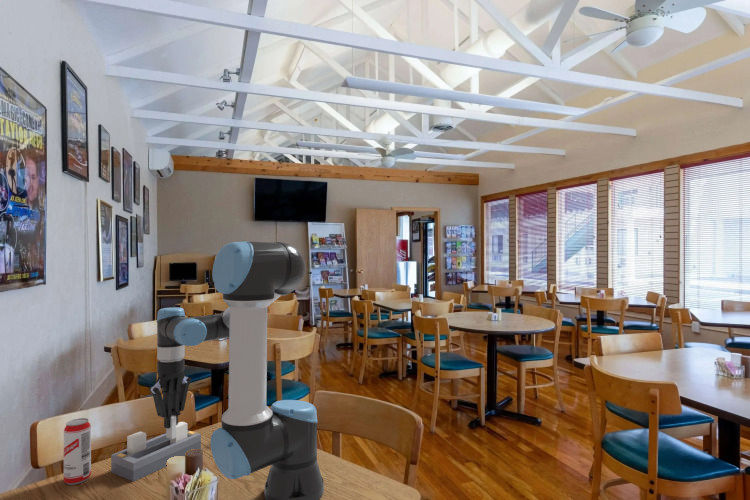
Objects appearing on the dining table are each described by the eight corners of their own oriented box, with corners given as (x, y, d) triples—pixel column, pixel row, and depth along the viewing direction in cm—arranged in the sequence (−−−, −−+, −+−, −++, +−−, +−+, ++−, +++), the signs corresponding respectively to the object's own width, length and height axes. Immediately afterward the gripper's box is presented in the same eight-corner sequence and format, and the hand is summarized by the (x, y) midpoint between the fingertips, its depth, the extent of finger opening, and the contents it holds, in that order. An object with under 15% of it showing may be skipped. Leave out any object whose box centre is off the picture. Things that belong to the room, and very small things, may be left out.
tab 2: (187, 442, 138) (187, 423, 138) (176, 447, 134) (176, 427, 134) (181, 440, 139) (181, 421, 139) (170, 445, 135) (170, 425, 135)
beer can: (77, 487, 118) (77, 427, 118) (57, 484, 119) (57, 425, 119) (96, 475, 124) (96, 418, 124) (77, 473, 125) (77, 416, 125)
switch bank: (200, 450, 140) (200, 433, 140) (133, 481, 121) (133, 462, 121) (179, 443, 145) (179, 426, 145) (111, 472, 126) (111, 453, 126)
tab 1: (146, 453, 130) (146, 433, 130) (133, 459, 126) (133, 438, 126) (140, 451, 131) (140, 431, 131) (127, 457, 128) (127, 436, 128)
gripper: (181, 353, 142) (181, 427, 142) (143, 362, 130) (143, 442, 130) (197, 356, 138) (197, 432, 138) (159, 365, 127) (159, 448, 127)
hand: (171, 437), depth 134 cm, fingers closed
